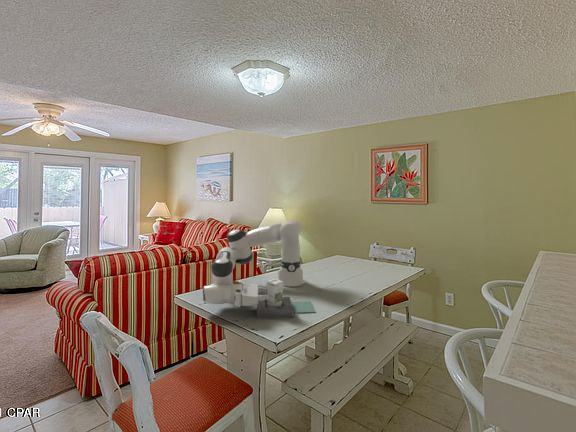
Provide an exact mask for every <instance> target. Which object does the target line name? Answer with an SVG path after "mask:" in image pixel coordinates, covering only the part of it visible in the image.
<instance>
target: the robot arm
mask: <svg viewBox="0 0 576 432" xmlns="http://www.w3.org/2000/svg"><path fill="white" fill-rule="evenodd" d="M301 233H302V224H301V222H299V221H298V220H297V219H288V220H285V221H282V222H277V223H273V224H270V225H269V224H268V225H265V226H262V227H258V228H255V229H254V228H253V229H251V230H249V231H245V230H243V229H239V228H238V229H232V230H231V231H229V232H228V233H227V235H226V240H227V242H228V245H229V246H224V247H222V248H221V249H220V250H219V251H218V253H217V254H216V258H215V260H214V261H213V262H212V263H211V264H210V266H211V267H210V269H211V276H212V277H211V279H212V281H211V282H212V283H210V284H209V285H204V286H203V287H202V298H203V299H202V300H203V302H204V303H206V304H210V305H223V304H229V305H234V306H235V307H236V308H241V307H242V306H243V307H252V306H257V304H258V301H262V300H265V299H269V295H266V287H262V286H259V284H258V283H246V284H243V283H242V284H243V286H242V284H233V281H234V280H233V278H234V277H233V276H234V275H233V270H234V268H235V266H236V264H238V265H247V264H248V263H250V262H251V261H252V260H253V259H254V257H253V252H252V250H251V247H260V246H266V245H270V244H275V243H277V242H280V243H281V261H280V268H279V270H278V271H277V277H276V279H277V280H280V281H283V287H299V286H301V285H304V284H306V283H307V282H306V281H305V280H304V271H303V269H302V268H301V246H300V234H301ZM259 293H265V294H263V295H261V294H259Z"/></svg>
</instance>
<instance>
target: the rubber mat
mask: <svg viewBox="0 0 576 432" xmlns="http://www.w3.org/2000/svg"><path fill="white" fill-rule="evenodd" d="M291 304H292V307H293V314H312V313H313V314H316V310H315V308H314V306H313V303H312V302H311V301H310V300H307V301H306V300H305V301H301V300H300V301H299V300H297V301H291Z"/></svg>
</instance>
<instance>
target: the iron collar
mask: <svg viewBox="0 0 576 432" xmlns="http://www.w3.org/2000/svg"><path fill="white" fill-rule="evenodd" d="M291 302H292V300H291V297H290V296H283V303H282V306H266V299H265V300H262V301H258V304H257V305H256V320H258V319H259V320H260V319H288V318H289V319H292V318H294V312H293V307H292V304H291Z"/></svg>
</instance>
